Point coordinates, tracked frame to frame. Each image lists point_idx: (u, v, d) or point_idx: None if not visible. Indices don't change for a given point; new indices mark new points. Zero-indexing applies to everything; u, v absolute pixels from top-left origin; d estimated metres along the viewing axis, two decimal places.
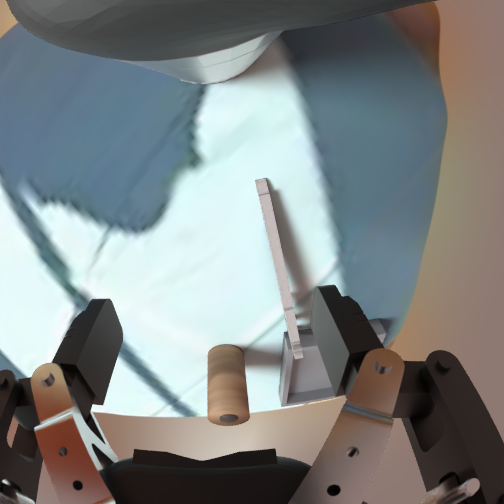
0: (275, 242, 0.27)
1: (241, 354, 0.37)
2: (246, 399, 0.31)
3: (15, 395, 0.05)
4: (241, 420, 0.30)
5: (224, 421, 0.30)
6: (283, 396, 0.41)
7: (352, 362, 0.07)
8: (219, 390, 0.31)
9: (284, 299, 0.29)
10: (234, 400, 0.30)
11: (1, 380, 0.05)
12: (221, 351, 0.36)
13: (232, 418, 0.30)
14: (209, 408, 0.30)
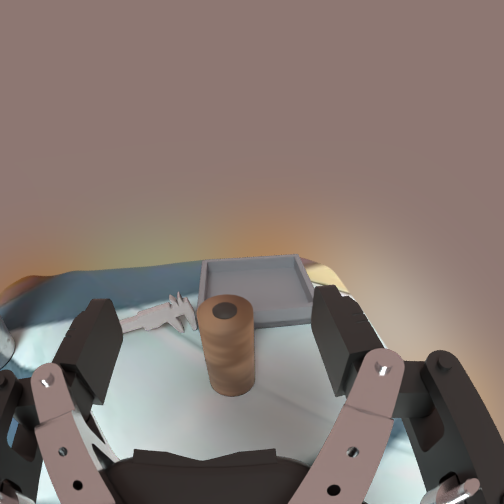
0: None
1: None
2: None
3: (15, 395, 0.05)
4: (237, 300, 0.26)
5: (233, 314, 0.24)
6: (294, 307, 0.36)
7: (352, 362, 0.07)
8: (201, 340, 0.25)
9: (131, 320, 0.33)
10: None
11: (1, 380, 0.05)
12: None
13: (223, 306, 0.25)
14: (210, 335, 0.23)
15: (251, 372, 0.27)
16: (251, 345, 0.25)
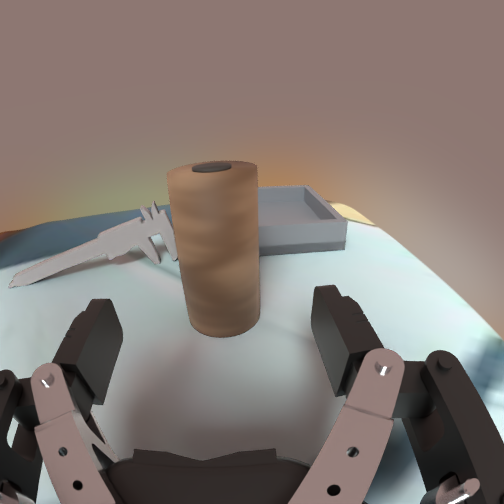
0: (42, 262, 0.23)
1: None
2: None
3: (15, 395, 0.05)
4: (231, 162, 0.17)
5: (225, 167, 0.15)
6: (311, 223, 0.26)
7: (352, 362, 0.07)
8: None
9: (89, 243, 0.24)
10: None
11: (1, 380, 0.05)
12: None
13: (209, 164, 0.16)
14: (184, 194, 0.14)
15: (254, 291, 0.17)
16: (254, 230, 0.16)
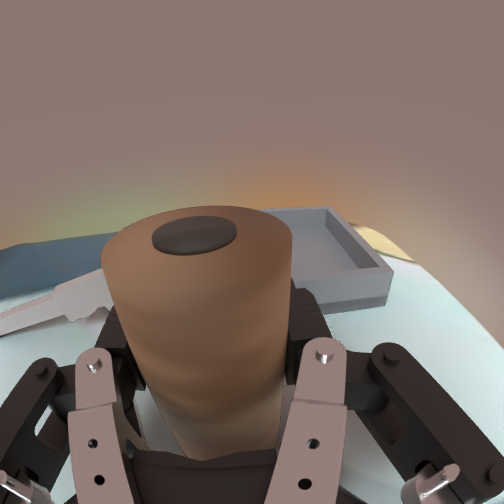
0: None
1: None
2: None
3: (57, 383, 0.06)
4: (236, 214, 0.09)
5: (223, 239, 0.07)
6: (347, 275, 0.18)
7: (296, 350, 0.08)
8: None
9: (44, 301, 0.16)
10: None
11: (41, 369, 0.06)
12: None
13: (191, 223, 0.08)
14: (131, 313, 0.06)
15: (274, 424, 0.09)
16: (281, 356, 0.08)
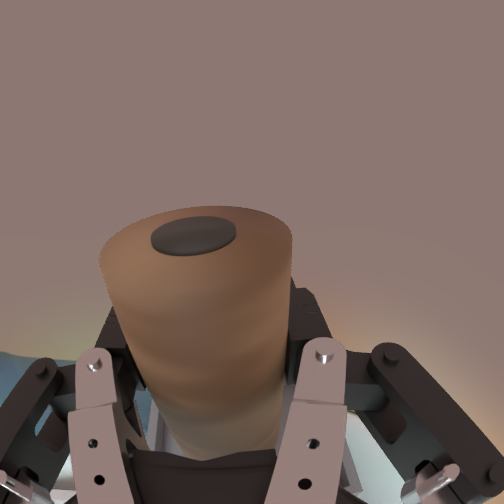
0: None
1: None
2: None
3: (57, 384, 0.06)
4: (236, 214, 0.09)
5: (223, 240, 0.07)
6: None
7: (296, 350, 0.08)
8: None
9: None
10: None
11: (41, 369, 0.06)
12: None
13: (190, 224, 0.08)
14: (130, 314, 0.06)
15: (274, 425, 0.09)
16: (281, 356, 0.08)
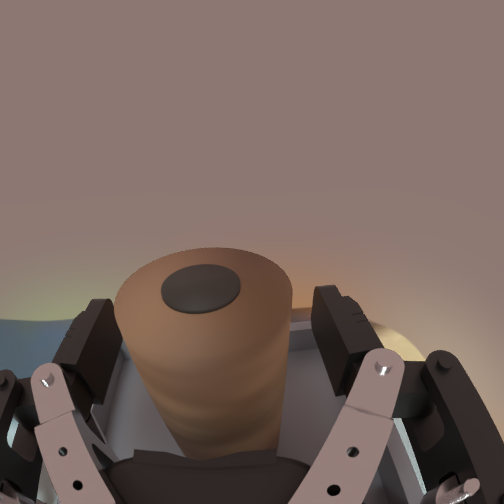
0: None
1: None
2: None
3: (15, 395, 0.05)
4: (239, 261, 0.09)
5: (229, 296, 0.07)
6: None
7: (352, 362, 0.07)
8: None
9: None
10: None
11: (1, 380, 0.05)
12: None
13: (197, 274, 0.08)
14: (147, 366, 0.06)
15: (274, 442, 0.10)
16: (281, 389, 0.08)
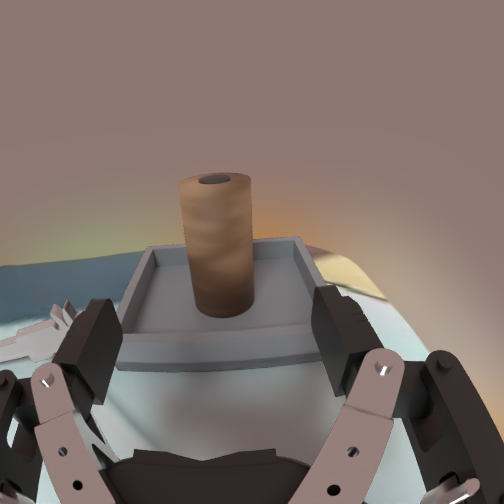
0: None
1: None
2: None
3: (15, 395, 0.05)
4: (230, 175, 0.21)
5: (225, 180, 0.19)
6: (293, 332, 0.17)
7: (352, 362, 0.07)
8: (183, 223, 0.20)
9: (9, 343, 0.15)
10: None
11: (1, 380, 0.05)
12: (193, 291, 0.23)
13: (212, 176, 0.20)
14: (193, 202, 0.18)
15: (249, 279, 0.21)
16: (248, 230, 0.20)
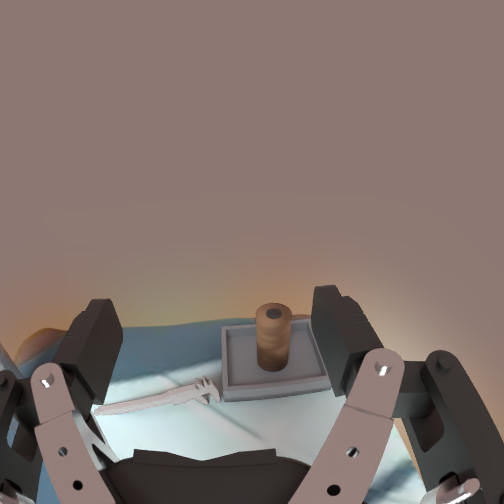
0: (122, 405, 0.34)
1: None
2: None
3: (15, 395, 0.05)
4: (280, 306, 0.41)
5: (280, 315, 0.39)
6: (309, 381, 0.37)
7: (352, 362, 0.07)
8: (257, 333, 0.40)
9: (160, 398, 0.35)
10: None
11: (1, 380, 0.05)
12: (257, 358, 0.43)
13: (272, 310, 0.40)
14: (266, 329, 0.38)
15: (287, 354, 0.42)
16: (289, 335, 0.40)
